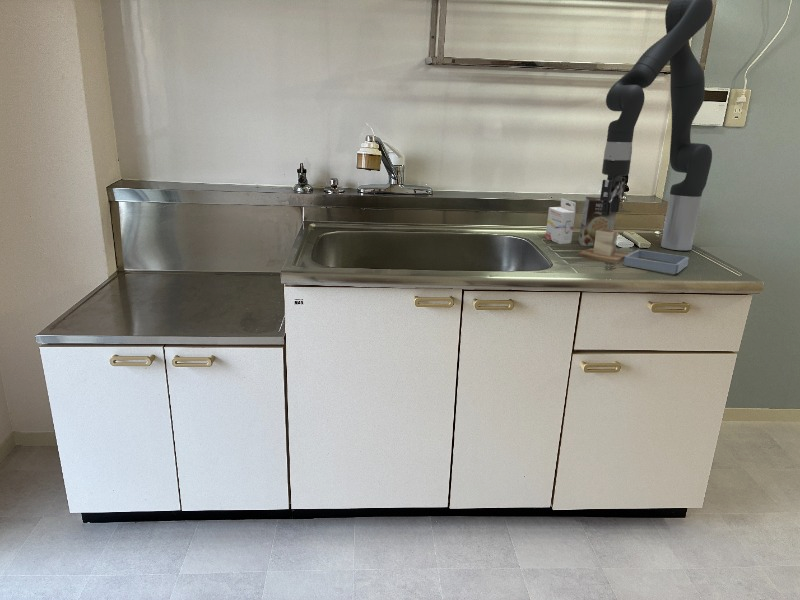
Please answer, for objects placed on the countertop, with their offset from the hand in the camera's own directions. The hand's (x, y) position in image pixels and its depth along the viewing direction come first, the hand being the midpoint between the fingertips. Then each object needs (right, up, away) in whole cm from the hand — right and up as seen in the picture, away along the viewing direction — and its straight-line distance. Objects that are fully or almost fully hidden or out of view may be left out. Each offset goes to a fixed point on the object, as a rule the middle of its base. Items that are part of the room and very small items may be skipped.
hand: (610, 213), depth 172 cm
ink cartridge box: (-10, -7, +21) cm, 25 cm away
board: (-1, -13, +4) cm, 13 cm away
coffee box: (+1, -9, +18) cm, 20 cm away
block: (-1, -12, +4) cm, 12 cm away
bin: (+12, -16, -4) cm, 20 cm away
